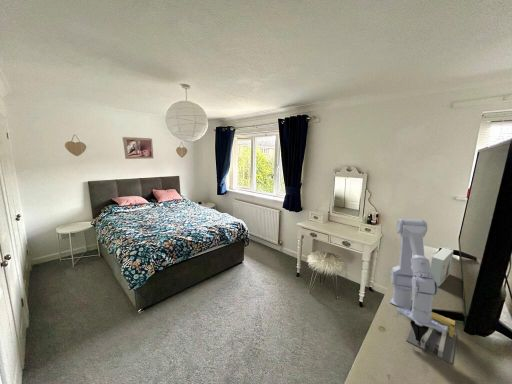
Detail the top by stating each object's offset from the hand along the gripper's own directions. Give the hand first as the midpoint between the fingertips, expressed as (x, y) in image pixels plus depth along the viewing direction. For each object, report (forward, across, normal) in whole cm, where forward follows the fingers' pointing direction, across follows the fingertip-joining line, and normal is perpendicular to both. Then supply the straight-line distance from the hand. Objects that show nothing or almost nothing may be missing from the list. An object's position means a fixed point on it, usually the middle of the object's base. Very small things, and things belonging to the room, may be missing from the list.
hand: (418, 339), depth 80 cm
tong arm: (+1, +3, +3) cm, 4 cm away
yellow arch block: (+1, +5, +12) cm, 13 cm away
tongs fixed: (+1, +5, +5) cm, 8 cm away
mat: (+1, +3, +6) cm, 7 cm away
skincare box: (+2, 0, +62) cm, 62 cm away
